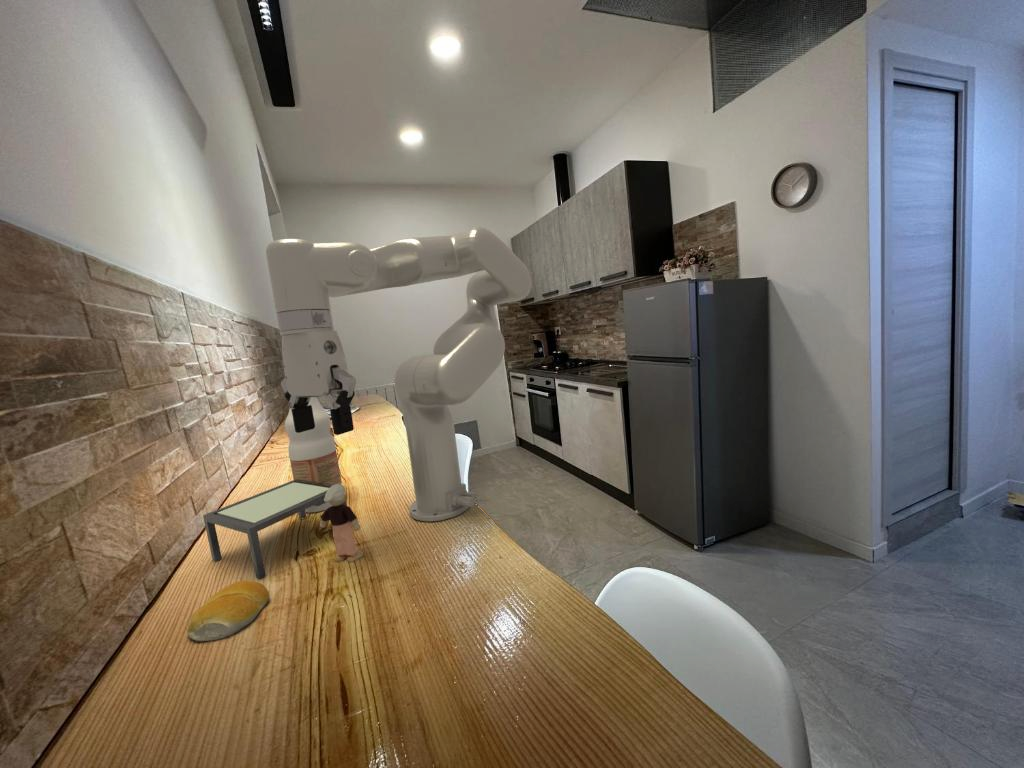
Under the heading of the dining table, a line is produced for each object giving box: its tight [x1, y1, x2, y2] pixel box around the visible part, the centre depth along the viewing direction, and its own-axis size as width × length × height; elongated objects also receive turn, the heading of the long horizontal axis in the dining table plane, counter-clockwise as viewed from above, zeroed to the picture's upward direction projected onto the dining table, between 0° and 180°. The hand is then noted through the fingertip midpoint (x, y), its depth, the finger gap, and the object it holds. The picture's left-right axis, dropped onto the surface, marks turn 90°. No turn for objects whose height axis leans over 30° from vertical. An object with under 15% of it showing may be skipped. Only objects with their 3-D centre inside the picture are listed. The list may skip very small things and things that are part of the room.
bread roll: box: [186, 579, 270, 642], centre depth 53 cm, size 8×9×4 cm
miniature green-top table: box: [202, 479, 348, 580], centre depth 71 cm, size 15×17×8 cm
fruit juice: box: [284, 397, 343, 514], centre depth 87 cm, size 9×9×28 cm
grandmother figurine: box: [319, 483, 364, 563], centre depth 64 cm, size 8×4×13 cm, turn 84°
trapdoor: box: [217, 482, 329, 525], centre depth 71 cm, size 12×14×3 cm
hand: (324, 431), depth 62 cm, fingers open, 9 cm apart
